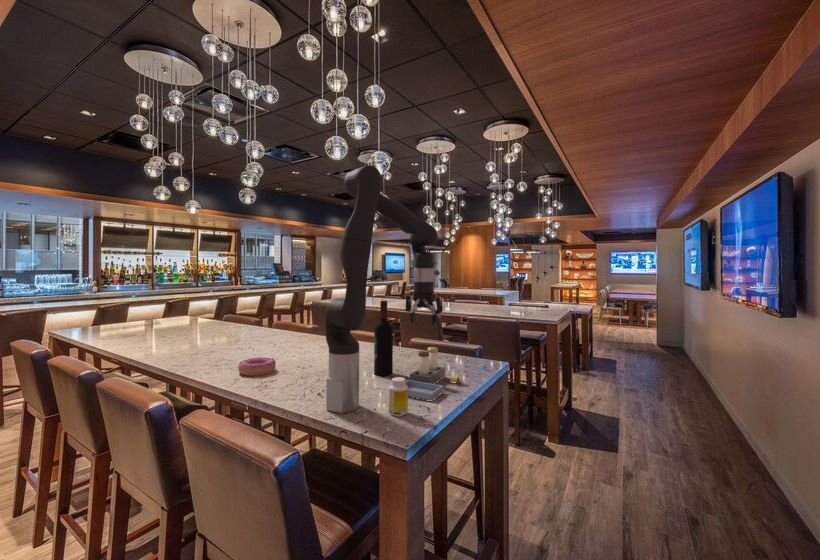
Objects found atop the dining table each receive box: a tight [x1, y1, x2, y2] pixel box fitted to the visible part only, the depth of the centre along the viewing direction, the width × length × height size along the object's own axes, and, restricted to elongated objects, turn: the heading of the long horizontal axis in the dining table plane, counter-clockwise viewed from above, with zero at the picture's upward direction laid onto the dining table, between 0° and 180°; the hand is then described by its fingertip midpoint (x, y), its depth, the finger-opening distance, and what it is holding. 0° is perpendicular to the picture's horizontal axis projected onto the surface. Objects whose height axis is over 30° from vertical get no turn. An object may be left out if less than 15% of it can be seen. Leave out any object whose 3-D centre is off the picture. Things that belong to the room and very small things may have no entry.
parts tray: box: [405, 379, 444, 401], centre depth 124 cm, size 14×10×2 cm
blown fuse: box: [417, 350, 429, 376], centre depth 135 cm, size 4×4×12 cm
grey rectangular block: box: [409, 366, 446, 384], centre depth 139 cm, size 15×8×4 cm, turn 152°
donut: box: [237, 356, 277, 377], centre depth 150 cm, size 14×14×5 cm
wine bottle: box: [373, 300, 394, 378], centre depth 148 cm, size 8×8×30 cm
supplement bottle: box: [388, 376, 409, 417], centre depth 107 cm, size 6×6×10 cm
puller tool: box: [450, 374, 458, 383], centre depth 140 cm, size 8×2×1 cm, turn 172°
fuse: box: [427, 346, 439, 371], centre depth 143 cm, size 4×4×12 cm
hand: (423, 323), depth 135 cm, fingers open, 8 cm apart
